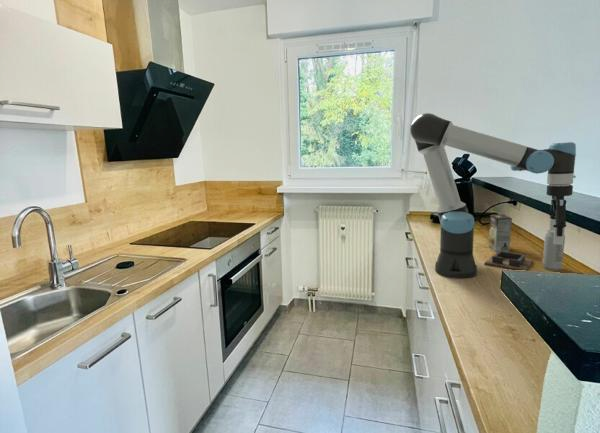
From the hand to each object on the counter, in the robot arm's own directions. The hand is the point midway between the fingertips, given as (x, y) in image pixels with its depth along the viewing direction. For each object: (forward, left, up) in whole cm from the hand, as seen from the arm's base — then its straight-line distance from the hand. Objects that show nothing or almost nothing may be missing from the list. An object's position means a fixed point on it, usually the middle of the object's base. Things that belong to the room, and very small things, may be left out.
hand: (555, 239), depth 121 cm
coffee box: (+5, +27, -12) cm, 30 cm away
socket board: (-9, +11, -12) cm, 19 cm away
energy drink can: (0, 0, -12) cm, 12 cm away
